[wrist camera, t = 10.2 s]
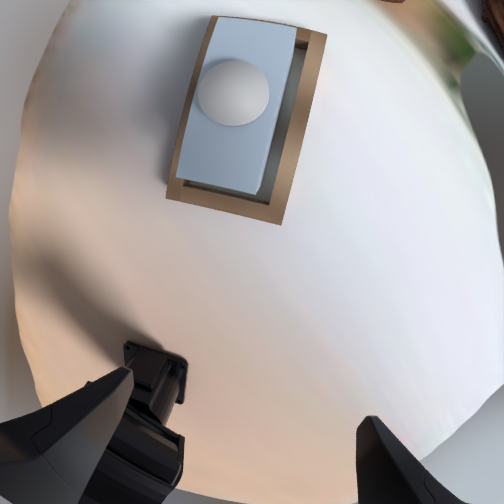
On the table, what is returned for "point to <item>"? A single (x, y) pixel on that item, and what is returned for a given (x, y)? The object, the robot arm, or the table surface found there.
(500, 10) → the scroll
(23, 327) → the table surface
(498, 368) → the table surface
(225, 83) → the key block
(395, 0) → the food container
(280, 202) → the tan picture frame
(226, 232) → the table surface
